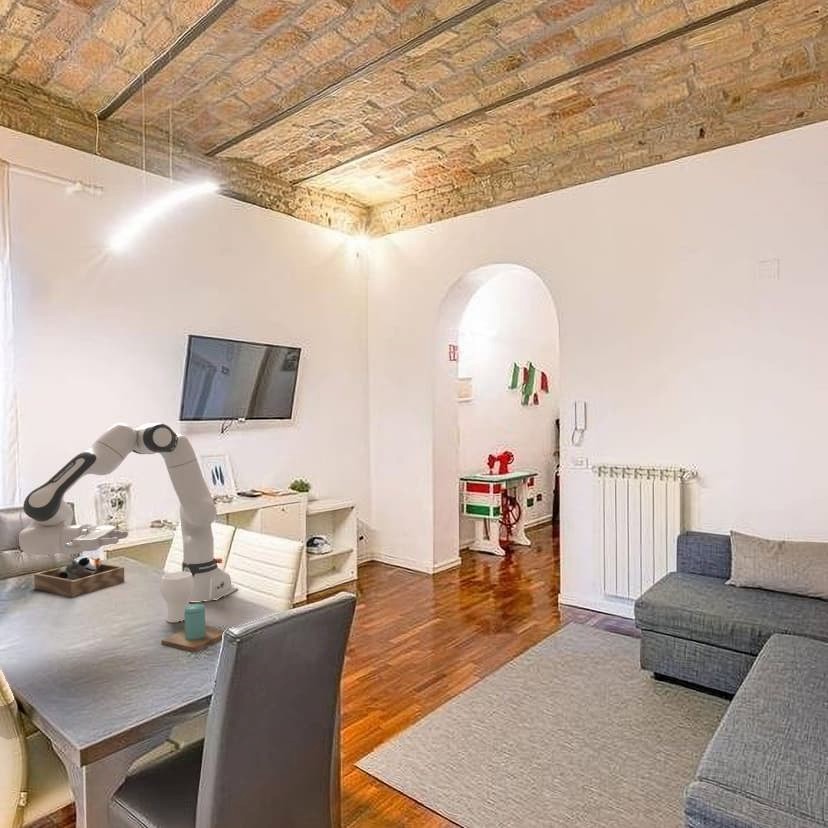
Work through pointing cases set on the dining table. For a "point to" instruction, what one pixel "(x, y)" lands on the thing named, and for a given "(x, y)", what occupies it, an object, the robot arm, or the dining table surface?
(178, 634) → the square wooden board
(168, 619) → the cup
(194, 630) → the teal octagonal jar
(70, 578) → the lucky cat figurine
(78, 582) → the tray
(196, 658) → the dining table surface
